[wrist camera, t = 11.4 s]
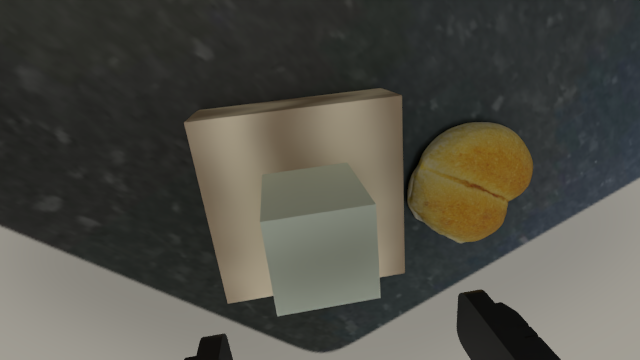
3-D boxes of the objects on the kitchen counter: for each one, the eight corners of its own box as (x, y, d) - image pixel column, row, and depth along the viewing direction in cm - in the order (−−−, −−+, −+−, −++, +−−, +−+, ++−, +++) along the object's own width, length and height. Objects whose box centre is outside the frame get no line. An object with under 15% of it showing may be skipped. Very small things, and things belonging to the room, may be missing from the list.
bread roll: (534, 146, 27) (576, 161, 23) (467, 241, 29) (496, 269, 26) (450, 96, 25) (482, 104, 21) (385, 203, 27) (403, 228, 23)
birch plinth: (380, 88, 24) (401, 95, 20) (386, 243, 28) (404, 272, 24) (197, 110, 22) (184, 122, 19) (233, 268, 27) (228, 303, 23)
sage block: (346, 162, 21) (375, 204, 15) (352, 236, 23) (380, 297, 17) (262, 174, 20) (259, 222, 15) (275, 248, 22) (277, 316, 17)
